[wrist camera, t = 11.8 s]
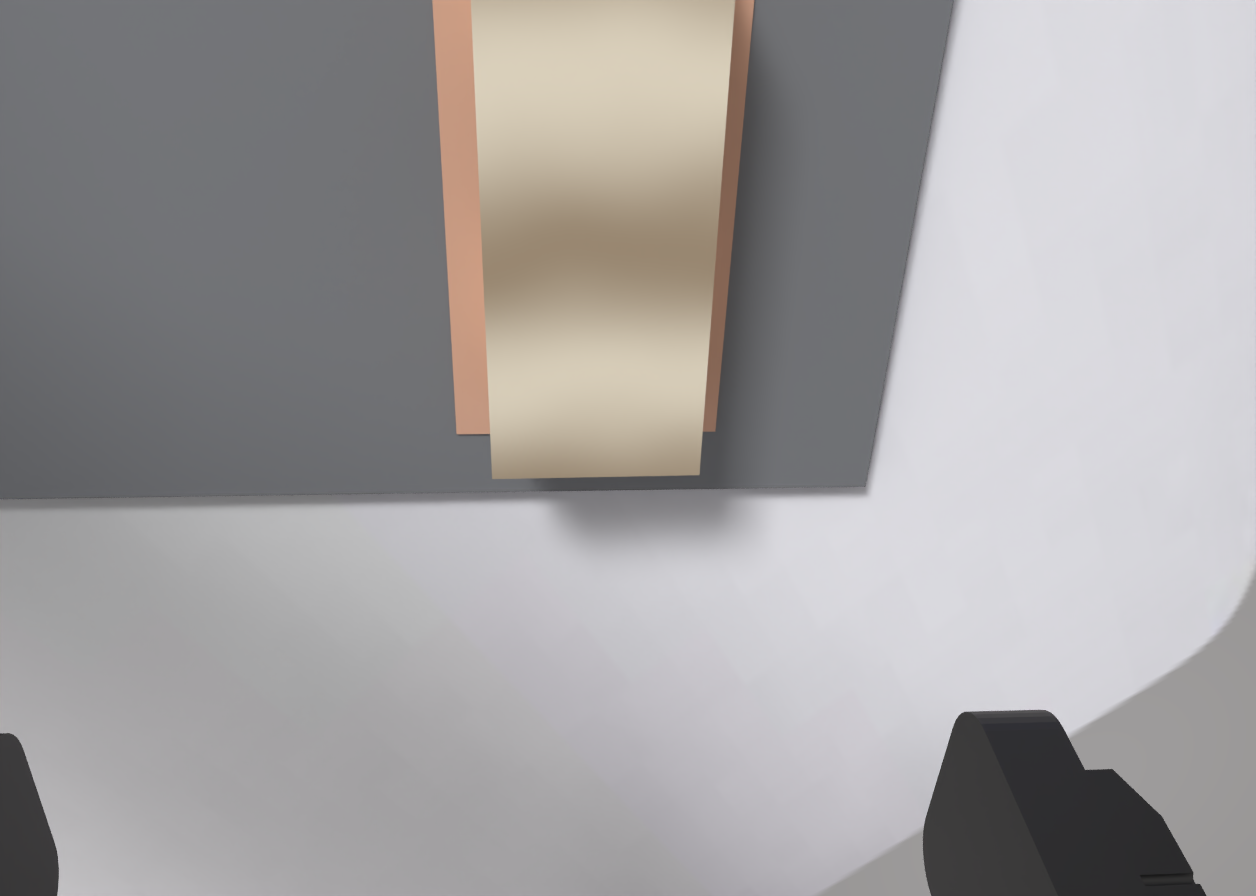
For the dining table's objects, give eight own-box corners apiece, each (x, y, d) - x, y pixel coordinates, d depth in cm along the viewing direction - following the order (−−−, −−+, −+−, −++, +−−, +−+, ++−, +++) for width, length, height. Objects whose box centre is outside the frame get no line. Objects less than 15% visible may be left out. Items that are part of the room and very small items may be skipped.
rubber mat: (-230, 489, 32) (-244, 504, 31) (-722, -585, 20) (-760, -593, 19) (860, 474, 34) (866, 488, 34) (1031, -492, 22) (1044, -496, 21)
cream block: (475, -91, 24) (468, -57, 21) (714, -87, 25) (739, -53, 22) (495, 402, 31) (492, 478, 28) (683, 399, 31) (699, 475, 29)
